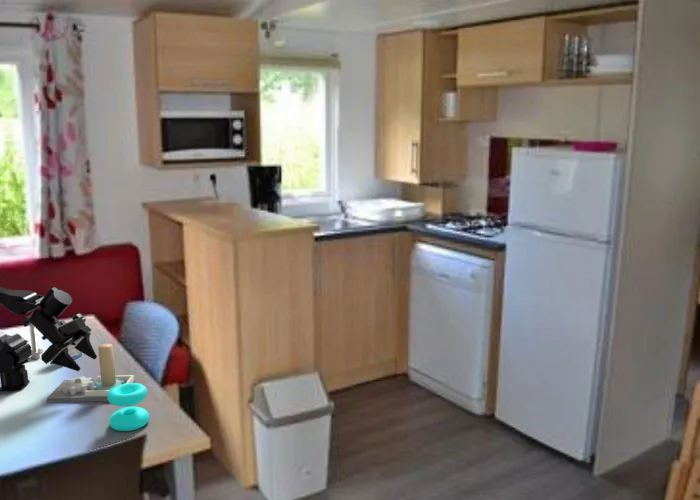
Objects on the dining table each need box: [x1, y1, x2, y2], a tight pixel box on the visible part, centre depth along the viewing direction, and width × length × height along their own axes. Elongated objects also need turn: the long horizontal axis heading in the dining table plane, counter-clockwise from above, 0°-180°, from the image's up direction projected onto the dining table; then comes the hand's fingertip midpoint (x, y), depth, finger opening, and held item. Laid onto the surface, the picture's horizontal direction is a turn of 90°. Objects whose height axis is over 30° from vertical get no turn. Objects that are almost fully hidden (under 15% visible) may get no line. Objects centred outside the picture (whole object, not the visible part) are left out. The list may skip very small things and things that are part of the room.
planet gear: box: [93, 343, 124, 390], centre depth 192 cm, size 8×8×13 cm
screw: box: [29, 324, 44, 360], centre depth 220 cm, size 13×5×5 cm
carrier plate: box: [46, 374, 136, 403], centre depth 193 cm, size 21×13×4 cm, turn 92°
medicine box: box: [64, 345, 83, 361], centre depth 219 cm, size 8×4×9 cm, turn 168°
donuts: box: [107, 382, 150, 432], centre depth 173 cm, size 10×10×10 cm
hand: (87, 364), depth 193 cm, fingers open, 9 cm apart
